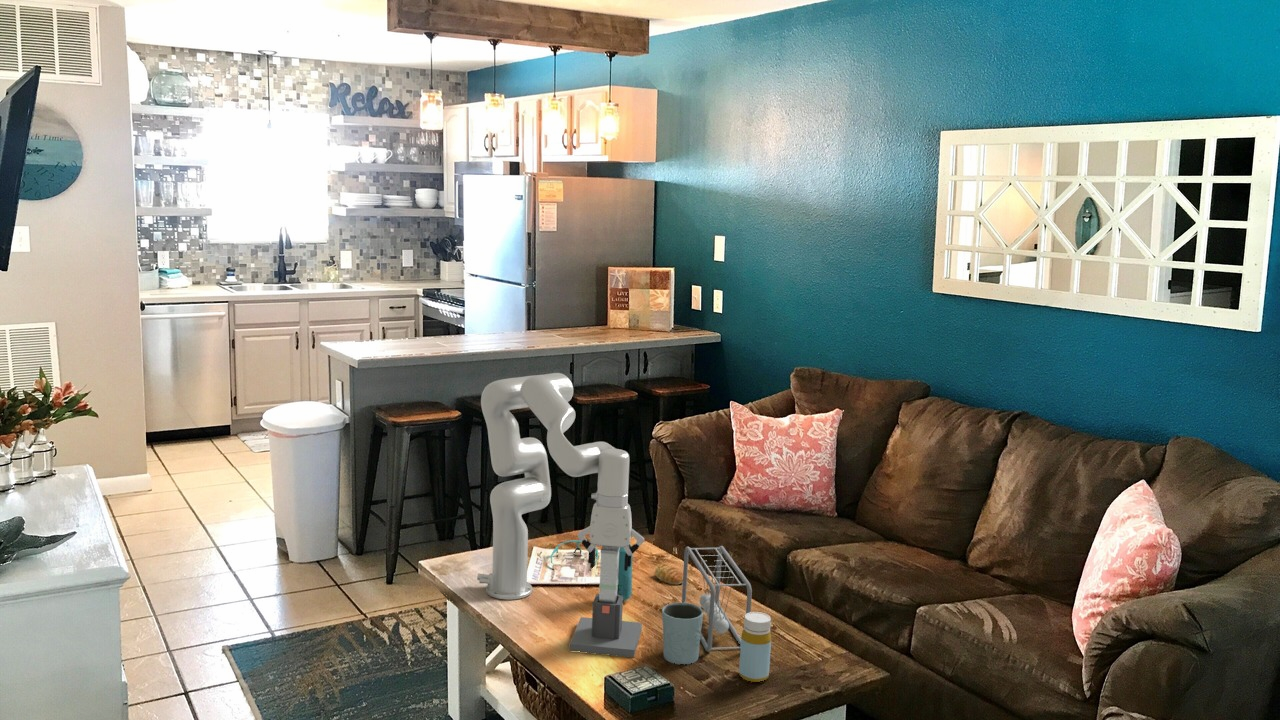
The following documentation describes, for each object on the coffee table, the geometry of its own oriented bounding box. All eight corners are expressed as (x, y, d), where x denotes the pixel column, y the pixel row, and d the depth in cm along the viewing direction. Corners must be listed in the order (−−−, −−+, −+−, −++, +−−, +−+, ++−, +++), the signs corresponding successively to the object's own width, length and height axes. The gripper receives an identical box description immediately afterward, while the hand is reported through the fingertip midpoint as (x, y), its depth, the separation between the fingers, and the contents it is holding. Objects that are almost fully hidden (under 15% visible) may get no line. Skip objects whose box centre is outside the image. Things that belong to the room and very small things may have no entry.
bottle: (736, 669, 252) (740, 610, 249) (765, 669, 252) (769, 611, 250) (741, 683, 245) (745, 623, 242) (771, 683, 246) (775, 623, 243)
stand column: (598, 607, 261) (600, 550, 258) (600, 600, 265) (603, 544, 262) (615, 609, 260) (617, 551, 258) (617, 602, 265) (619, 545, 262)
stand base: (569, 651, 257) (570, 609, 255) (580, 624, 273) (581, 584, 271) (634, 657, 256) (636, 615, 254) (641, 629, 271) (643, 589, 269)
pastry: (690, 583, 304) (690, 571, 304) (671, 588, 300) (672, 575, 300) (670, 572, 312) (670, 560, 311) (652, 577, 308) (652, 565, 307)
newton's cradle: (681, 605, 288) (684, 544, 285) (718, 604, 290) (721, 543, 287) (707, 655, 259) (711, 587, 256) (748, 653, 261) (753, 586, 258)
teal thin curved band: (601, 556, 322) (601, 541, 321) (594, 579, 308) (594, 564, 307) (555, 553, 323) (555, 538, 322) (546, 575, 309) (547, 560, 308)
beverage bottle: (632, 597, 292) (635, 528, 288) (630, 607, 285) (633, 536, 282) (609, 595, 292) (612, 526, 289) (606, 605, 286) (609, 534, 282)
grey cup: (687, 670, 251) (690, 622, 249) (651, 658, 256) (654, 611, 254) (708, 654, 259) (710, 608, 257) (672, 643, 264) (675, 598, 262)
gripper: (574, 501, 255) (572, 569, 258) (645, 507, 253) (642, 576, 256) (580, 492, 262) (577, 559, 266) (649, 497, 261) (645, 564, 264)
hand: (609, 567), depth 261 cm, fingers open, 8 cm apart
